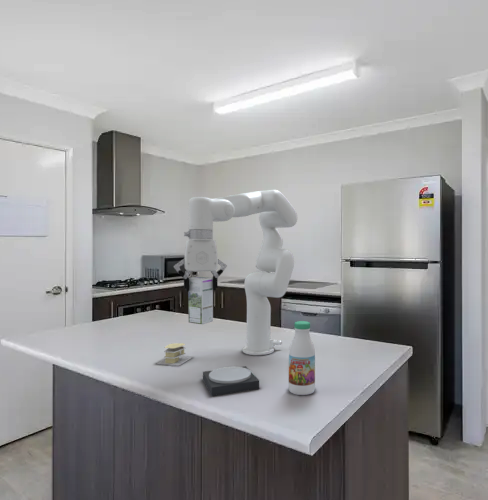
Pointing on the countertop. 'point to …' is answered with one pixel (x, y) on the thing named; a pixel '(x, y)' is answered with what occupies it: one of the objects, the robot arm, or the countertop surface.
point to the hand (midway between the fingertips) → (200, 290)
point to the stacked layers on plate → (174, 355)
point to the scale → (230, 380)
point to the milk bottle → (302, 361)
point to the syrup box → (200, 300)
